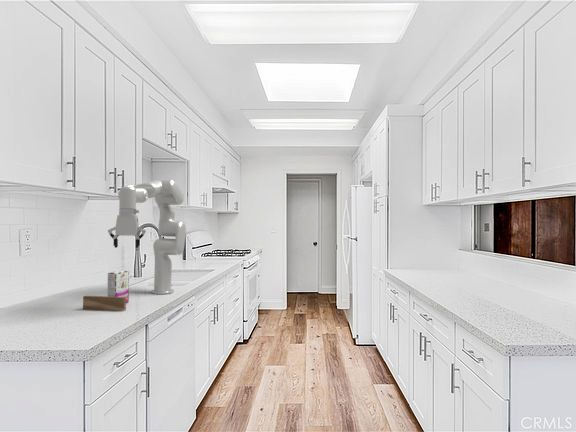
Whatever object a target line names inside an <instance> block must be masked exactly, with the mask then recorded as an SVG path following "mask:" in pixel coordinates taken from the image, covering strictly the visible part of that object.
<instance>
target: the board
mask: <svg viewBox="0 0 576 432" xmlns="http://www.w3.org/2000/svg"><path fill="white" fill-rule="evenodd" d="M126 309H127V303H126V297H108V295H107V296H105V295H104V296H103V295H84V296H82V310H96V311H116V312H118V311H119V312H125V311H126Z"/></svg>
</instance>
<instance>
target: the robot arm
mask: <svg viewBox="0 0 576 432" xmlns="http://www.w3.org/2000/svg"><path fill="white" fill-rule="evenodd" d="M117 197H118V200H119V201H118V203H119V205H118V206H119V208H118V215H117V216H116V222H115V226H114V227H112V228H109V229H107V232H108V235H109V236H110V238H112V239H113V247H114V248H118V246H119V239H118V238H119V237H120V236H121V237H123V236H126V237H127V236H130V237H131V236H134V238H135V248H139V247H140V245H141V244H140V241H141V239H142V238H143V237H144V236H145V234H146V233H147V232H146V229H144V228H142V227H140V226H139V217H138V215H137V214H139V213H140V211H139V209H137V204H142V203H146V202H147V201H148V199H152V198H154V202H155V203H156V205H157V207H158V210H159V220H158V231H157V232H158V235H160V236H161V238H158V239H156V240H154V241H153V245H152V247H153V253H154V254H153V255H154V274H153V275H154V279H153V282H154V283H153V289H151V291H150V292H151V294H154V295H167V294H172V293H174V291H175V290H174V289H172V286H173V284H172V265H173V263H172V259H171V258H170V256H180V255H182V254H183V253H184V250H185V243H186V233H187V232H186V231H187V227H186V223H184V221H182V220H175V215H176V212H175V211H174V209H173V207H172V205H173V206H179V205H182V204H183V203H184V201H185V196H184V193H183V190H182V189H181V187H180V186H179V184H178V183H177V182H176V181H174V180H173V179H167V178H166V179H154V180H151V181H147V182H142V183H138V184H137V183H136V184H133V185H127V186H122V187H120V189H119V190H118V194H117ZM114 231H115V234H114V233H113V232H114ZM140 232H141V234H139V233H140ZM163 237H171V238H163ZM172 237H173V238H172ZM174 237H175V238H174Z"/></svg>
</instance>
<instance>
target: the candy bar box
mask: <svg viewBox="0 0 576 432" xmlns="http://www.w3.org/2000/svg"><path fill="white" fill-rule="evenodd" d="M129 288H130V270H125V269H124V270H123V269H121V270H117V271H116V270H115V271H112V272H108V273H107V296H108V297H126V304H127V303H129V302H130V296H129V295H130V290H129Z"/></svg>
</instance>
